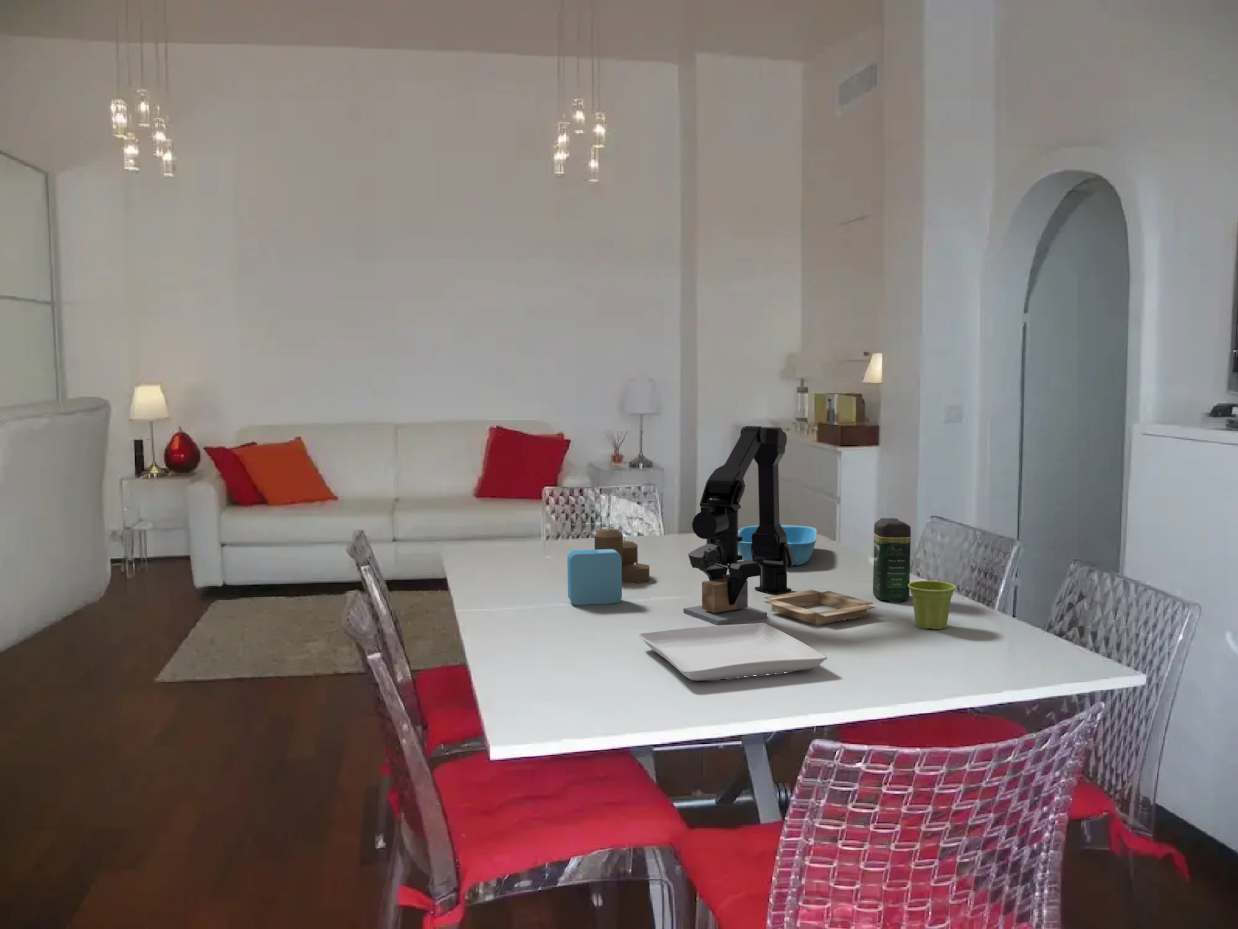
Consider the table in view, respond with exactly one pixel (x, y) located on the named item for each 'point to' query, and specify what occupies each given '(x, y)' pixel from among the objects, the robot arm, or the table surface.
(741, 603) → the block
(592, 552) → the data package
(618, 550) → the candle
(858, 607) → the wooden square frame
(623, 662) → the table surface
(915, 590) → the plant pot
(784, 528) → the casserole dish
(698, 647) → the square plate
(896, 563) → the coffee jar
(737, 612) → the mat
